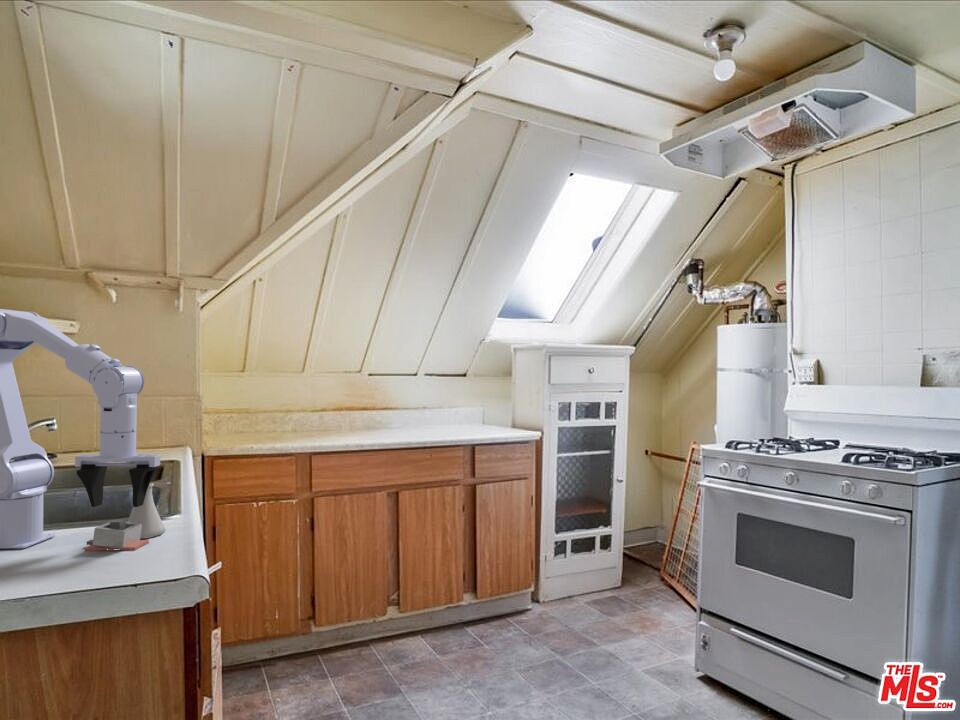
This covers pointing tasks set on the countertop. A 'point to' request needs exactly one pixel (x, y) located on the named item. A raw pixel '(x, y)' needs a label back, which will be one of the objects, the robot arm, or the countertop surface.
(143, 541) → the keeper hook
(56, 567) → the countertop surface
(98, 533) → the link
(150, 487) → the flask
